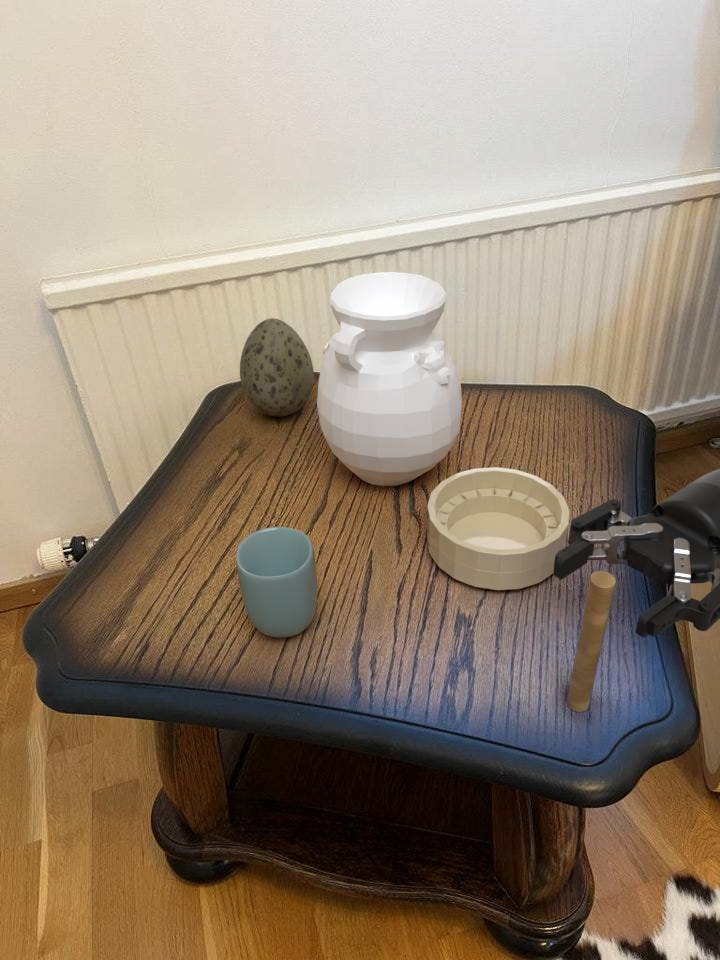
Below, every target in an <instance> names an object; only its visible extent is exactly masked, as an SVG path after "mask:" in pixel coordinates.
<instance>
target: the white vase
mask: <svg viewBox="0 0 720 960" xmlns="http://www.w3.org/2000/svg"><path fill="white" fill-rule="evenodd" d="M447 296H448V293H447V292H446V290H445V289H444V288H443V286H442V285H441V284H440V283H439V282H437V281H436V280H433V279H432V278H430V277H427V276H424V275H421V274H416V273H409V272H401V271H400V272H399V271H383V272H382V271H380V272H368V273H363V274H362V273H361V274H358V275H355V276H352V277H348V278H346V279H345V280H342V281H341V282H339V283H337V285H336V286H335V287H334V289H333V290H332V291H331V293H330V297H329V304H330V308H331V310H332V314H333V316H334V318H335V320H336V322H337V325H339V328H340V329H339V331H338V332H336V333H335V332H334V334H333V335H332V336H331V337H330V339H329V341H328V342H327V344H326V345H325V346H324V348H323V349H322V355H323V358H322V363H321V367H320V372H319V376H318V383H317V384H318V385H317V396H316V408H317V414H318V422H319V426H320V429H321V431H322V435H323V437H324V439H325V441H326V443H327V445H328V446H329V448H330V451H331V452H332V453H333V455H335V457H336V458H337V459H338V460H339V461H340V462H341V463H342V464H343V465H344V466H345V467H346V468H347V469H348V470H350V471H351V472H352V473H353V474H354V475H356V476H357V477H358V478H359V479H361V480H362V481H364V482H365V483H368V484H371V485H374V486H380V487H398V486H401V485H404V484H407V483H410V482H412V481H413V480H415V479H416V478H418V477H420V476H422V475H424V474H425V473H426V472H428V471H430V470H432V469H433V468H434V467H436V466H437V465H438V464H439V463H440V462H441V461H442V460H443V459H445V457H446V456H447V454H448V453H449V452H450V450H452V448H453V447H454V444H455V442H456V439H457V437H458V435H459V433H460V430H461V421H462V419H461V418H462V408H463V395H462V385H461V380H460V377H459V374H458V373H459V372H458V371H457V368H456V365H455V363H454V362H453V360H452V358H451V355H450V354H449V352H448V350H447V349H446V343H445V341H444V340H443V339H442V340H440V339H439V337H437V336H436V335H435V334H434V333H433V332H434V330H435V328H436V326H437V325H438V323H439V321H440V319H441V317H442V315H443V313H444V312H445V307H446V302H447Z"/></svg>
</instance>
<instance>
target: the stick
mask: <svg viewBox="0 0 720 960" xmlns="http://www.w3.org/2000/svg"><path fill="white" fill-rule="evenodd" d="M616 583H617V580H616V577H615V575H613V574H612V573H611V572H609V571H605V570H597V571H594V572H592V573H591V574H590V577H589V582H588V587H587V592H586V598H585V602H584V608H583V614H582V619H581V624H580V629H579V634H578V640H577V644H576V645H577V646H576V649H575V650H576V651H575V654H574V655H575V657H574V661H573V662H574V663H573V666H572V672H571V677H570V682H569V688H568V694H567V699H566V703H567V706H568V708H569V709H570V710H571V711H572V712H573V711H574V712H576V713H584V712H586V711H588V709H589V708H590V703H591V699H592V694H593V689H594V684H595V680H596V675H597V671H598V667H599V661H600V657H601V653H602V648H603V643H604V639H605V633H606V628H607V624H608V620H609V615H610V610H611V608H612V607H611V606H612V601H613V597H614V592H615V587H616Z"/></svg>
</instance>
